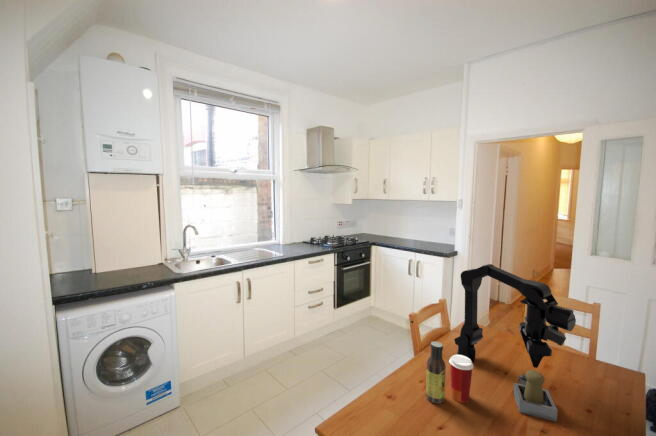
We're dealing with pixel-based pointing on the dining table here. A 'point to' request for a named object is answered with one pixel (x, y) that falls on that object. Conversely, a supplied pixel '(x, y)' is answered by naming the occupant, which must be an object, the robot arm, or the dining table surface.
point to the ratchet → (532, 408)
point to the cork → (534, 387)
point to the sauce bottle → (435, 374)
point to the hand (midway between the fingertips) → (532, 360)
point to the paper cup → (460, 377)
